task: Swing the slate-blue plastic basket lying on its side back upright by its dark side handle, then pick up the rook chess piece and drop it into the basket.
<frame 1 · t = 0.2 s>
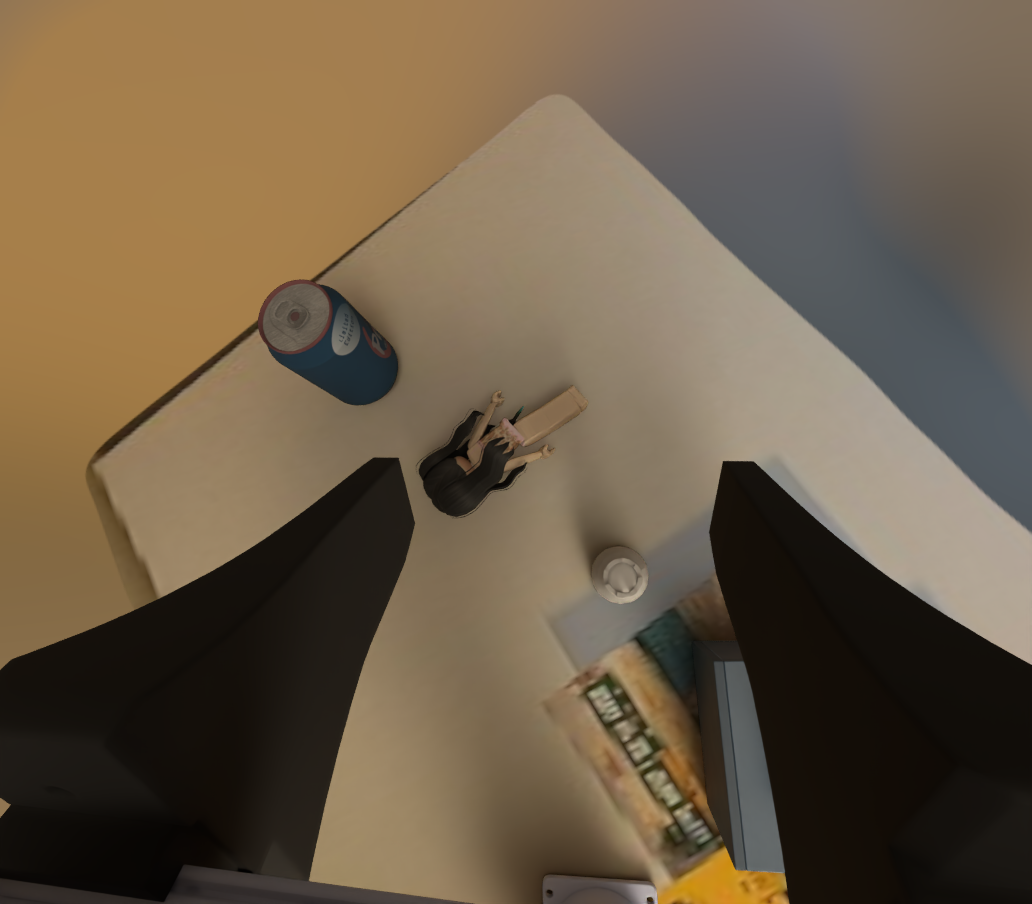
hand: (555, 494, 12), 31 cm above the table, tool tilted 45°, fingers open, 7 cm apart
basket: (765, 747, 31), point 6 cm above the table, hinge at 90.0°
rook chess piece: (619, 574, 41), on the table
toy figure: (505, 448, 44), on the table
soda can: (369, 375, 48), on the table
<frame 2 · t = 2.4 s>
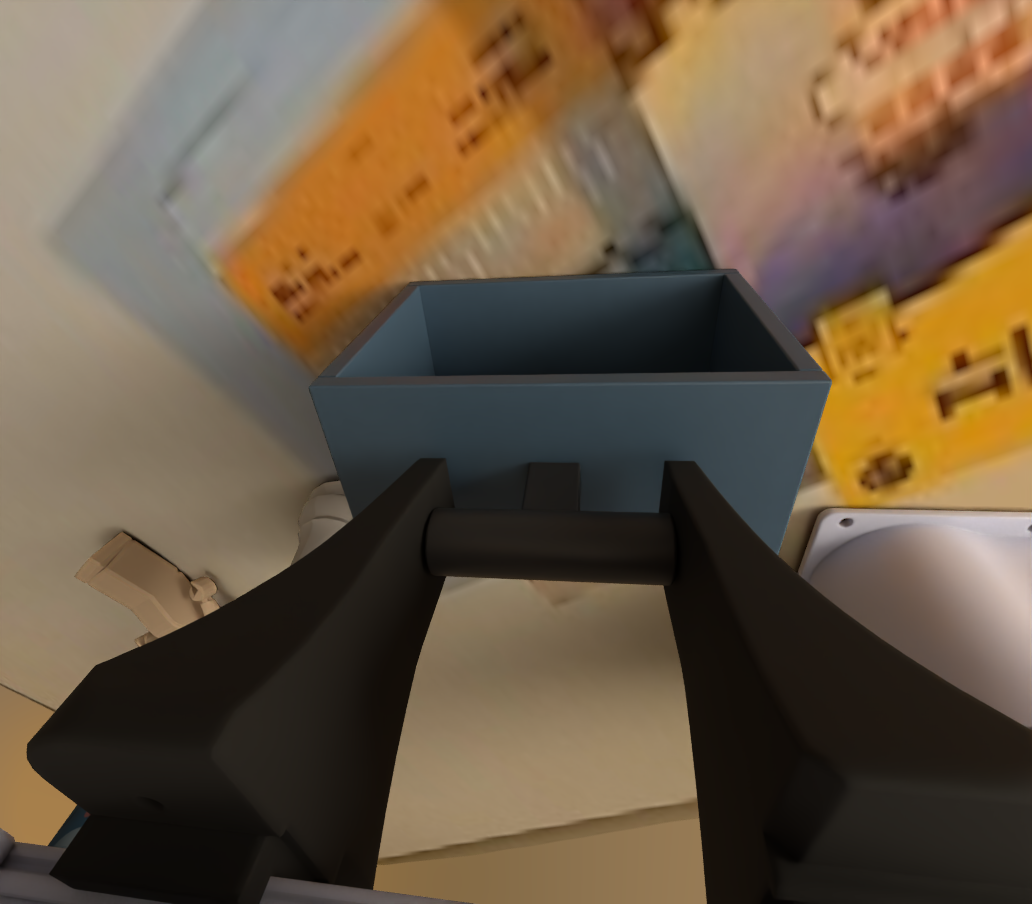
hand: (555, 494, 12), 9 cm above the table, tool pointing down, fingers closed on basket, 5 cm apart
basket: (560, 437, 14), point 6 cm above the table, hinge at 90.0°, touching gripper
rook chess piece: (357, 507, 25), on the table
toy figure: (227, 612, 32), on the table
soda can: (199, 713, 40), on the table
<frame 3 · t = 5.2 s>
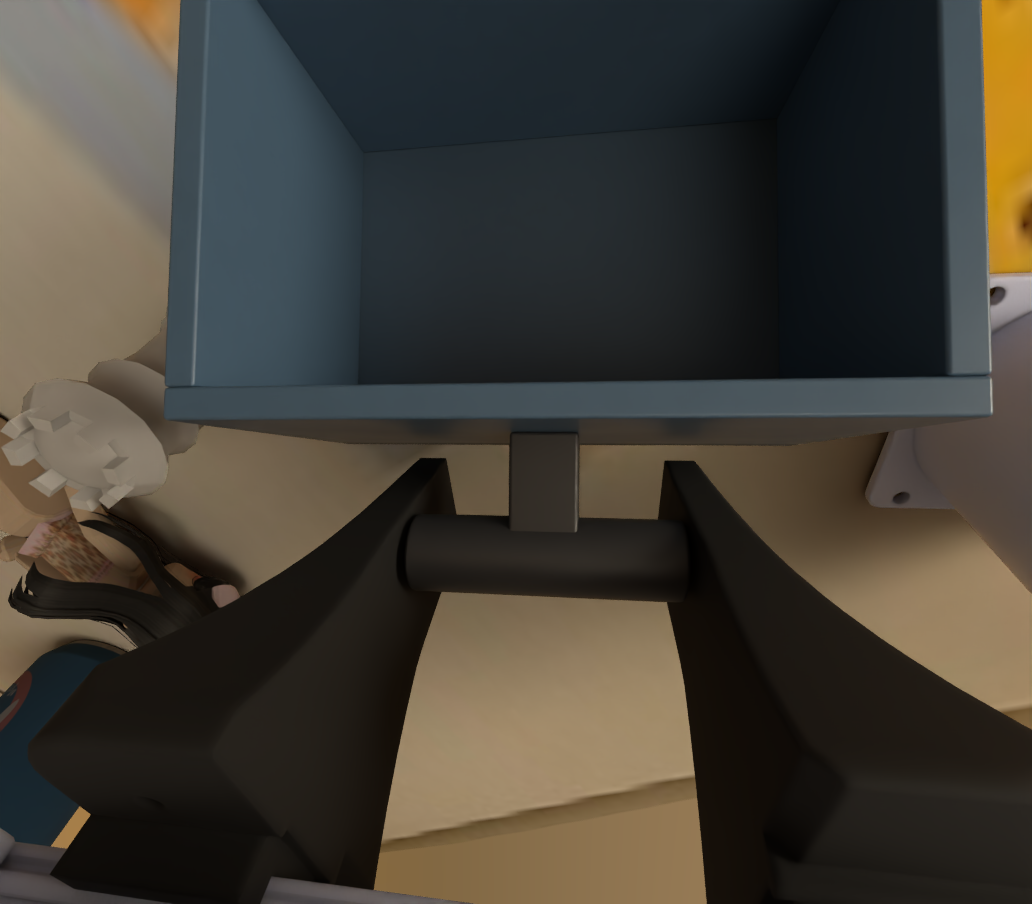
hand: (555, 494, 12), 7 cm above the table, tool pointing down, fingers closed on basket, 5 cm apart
basket: (549, 304, 10), point 6 cm above the table, hinge at 37.1°, touching gripper
rook chess piece: (262, 327, 18), on the table
toy figure: (118, 514, 24), on the table
soda can: (113, 663, 33), on the table
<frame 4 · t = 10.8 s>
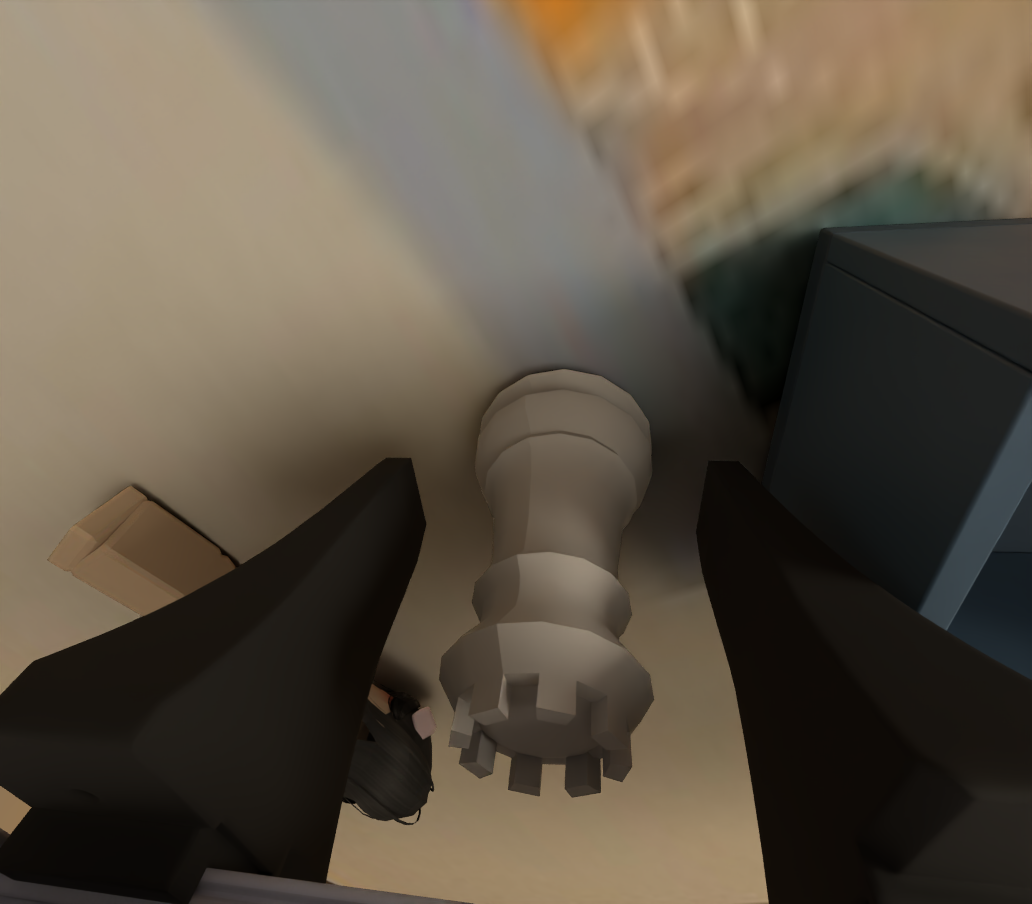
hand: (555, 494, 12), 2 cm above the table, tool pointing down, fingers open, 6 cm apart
rook chess piece: (564, 433, 14), on the table
toy figure: (293, 621, 20), on the table
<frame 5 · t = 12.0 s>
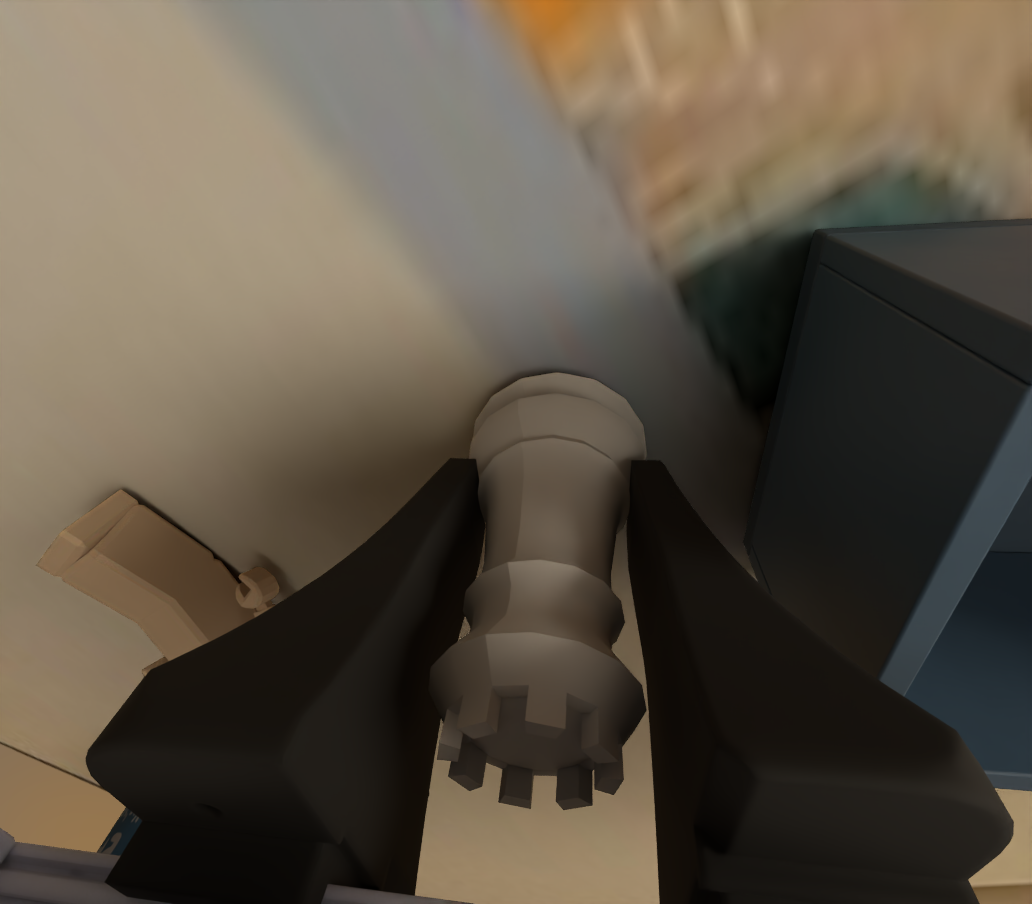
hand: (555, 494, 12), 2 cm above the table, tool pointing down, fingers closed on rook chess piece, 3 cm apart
rook chess piece: (558, 437, 13), on the table, touching gripper
toy figure: (287, 625, 20), on the table
soda can: (230, 762, 29), on the table
when the fingers open (3 cm above the table, at t = 16.5 s): rook chess piece stays where it is, resting on basket.
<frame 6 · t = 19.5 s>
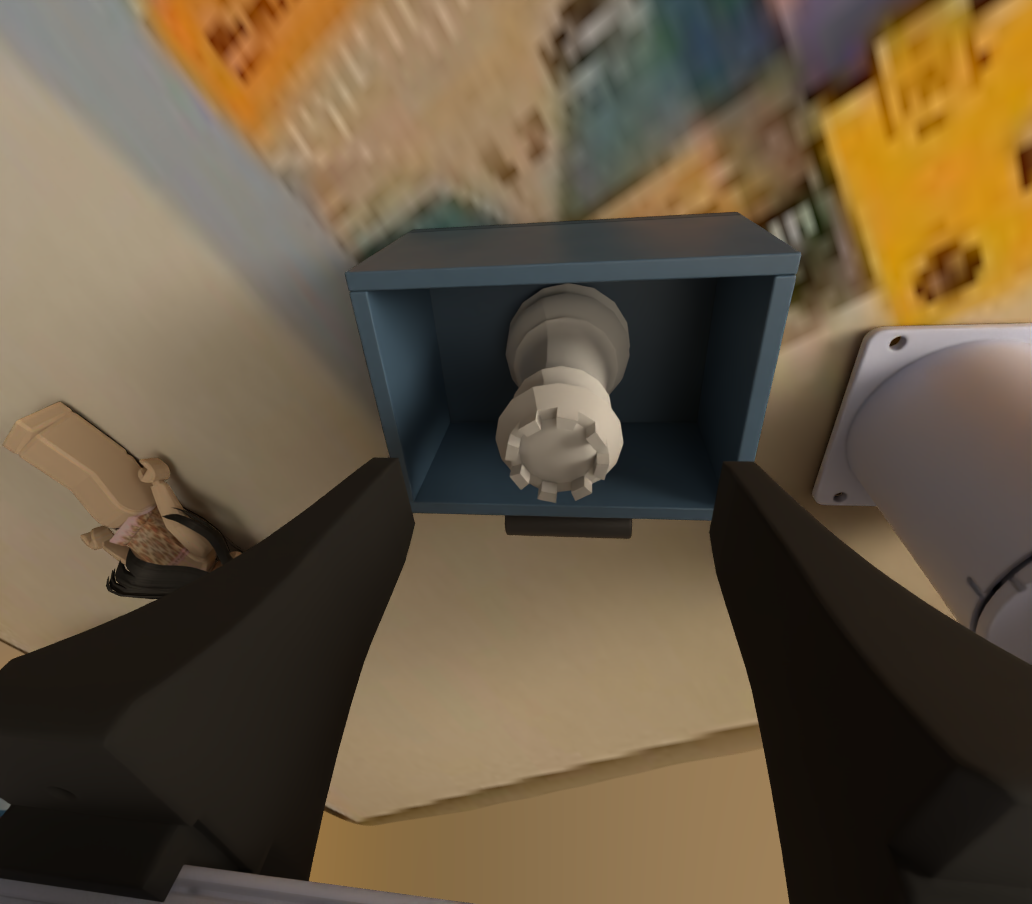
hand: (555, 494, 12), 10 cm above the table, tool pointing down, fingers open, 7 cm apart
basket: (566, 405, 18), point 3 cm above the table, hinge at 1.5°, touching rook chess piece
rook chess piece: (568, 338, 19), point 1 cm above the table, touching basket
toy figure: (186, 510, 28), on the table
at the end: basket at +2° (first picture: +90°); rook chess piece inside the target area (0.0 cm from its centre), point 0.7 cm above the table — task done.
